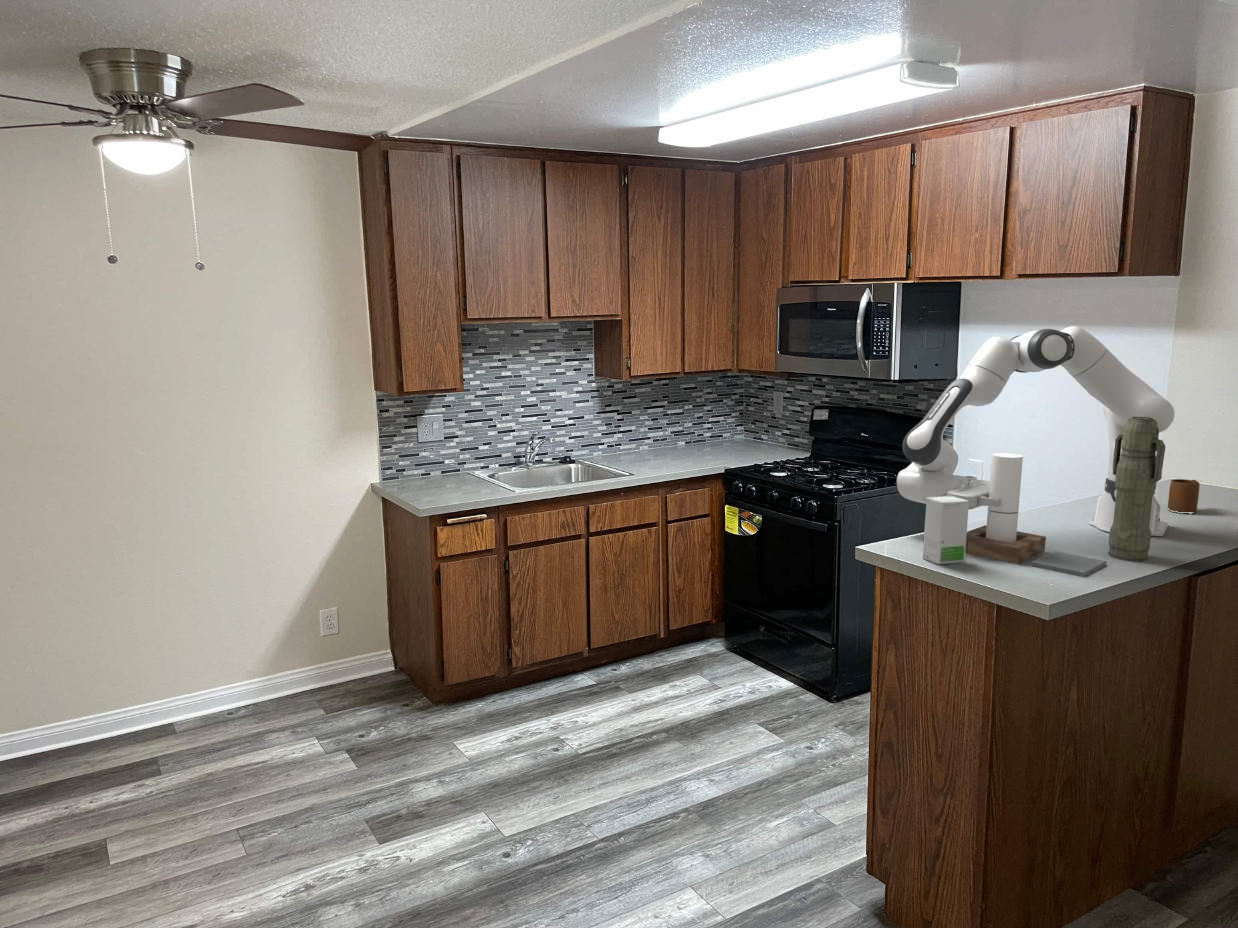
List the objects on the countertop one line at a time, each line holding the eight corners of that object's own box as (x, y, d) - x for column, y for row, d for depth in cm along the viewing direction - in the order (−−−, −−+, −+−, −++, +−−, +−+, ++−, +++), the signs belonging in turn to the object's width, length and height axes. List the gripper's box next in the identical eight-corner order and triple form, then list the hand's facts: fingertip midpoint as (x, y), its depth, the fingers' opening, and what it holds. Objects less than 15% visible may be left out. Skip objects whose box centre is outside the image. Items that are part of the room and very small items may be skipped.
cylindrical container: (1006, 547, 235) (1014, 452, 230) (1020, 555, 228) (1028, 457, 223) (980, 547, 235) (987, 452, 230) (992, 555, 228) (1000, 457, 223)
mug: (1180, 505, 282) (1183, 476, 281) (1207, 510, 276) (1210, 480, 275) (1162, 511, 275) (1166, 480, 274) (1190, 515, 269) (1193, 484, 268)
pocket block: (984, 539, 242) (985, 525, 242) (1044, 551, 231) (1046, 536, 230) (955, 550, 232) (956, 535, 231) (1017, 564, 220) (1018, 548, 219)
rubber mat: (1055, 554, 228) (1055, 551, 228) (1106, 564, 219) (1106, 560, 219) (1031, 565, 219) (1031, 561, 218) (1083, 576, 210) (1084, 572, 210)
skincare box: (938, 565, 219) (942, 502, 216) (920, 558, 225) (924, 497, 222) (966, 562, 222) (970, 500, 219) (948, 555, 228) (952, 494, 225)
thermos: (1143, 564, 219) (1158, 422, 213) (1095, 553, 229) (1108, 416, 223) (1161, 559, 224) (1177, 419, 218) (1113, 548, 234) (1127, 414, 228)
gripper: (936, 485, 231) (989, 494, 221) (974, 475, 244) (1025, 482, 234) (935, 509, 232) (987, 519, 222) (972, 497, 245) (1023, 506, 236)
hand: (1007, 500), depth 228 cm, fingers closed on cylindrical container, 7 cm apart
